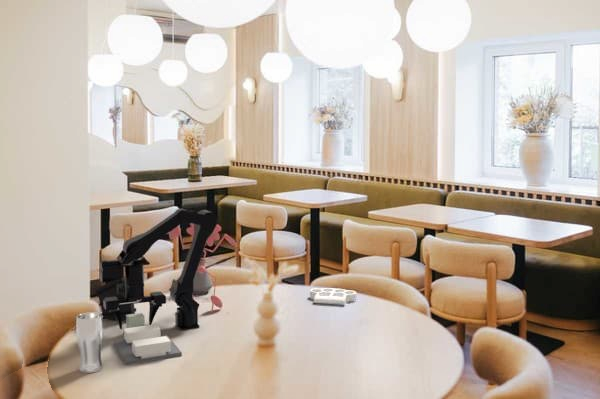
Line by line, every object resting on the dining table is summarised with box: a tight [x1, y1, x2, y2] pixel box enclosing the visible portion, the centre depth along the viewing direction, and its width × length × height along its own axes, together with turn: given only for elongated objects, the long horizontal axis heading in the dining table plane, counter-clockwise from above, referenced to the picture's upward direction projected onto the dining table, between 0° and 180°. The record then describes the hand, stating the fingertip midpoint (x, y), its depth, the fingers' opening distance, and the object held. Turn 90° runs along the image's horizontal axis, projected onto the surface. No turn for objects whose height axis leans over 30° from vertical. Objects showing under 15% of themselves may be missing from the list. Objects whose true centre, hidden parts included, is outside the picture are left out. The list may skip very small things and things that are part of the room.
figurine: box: [168, 223, 238, 315], centre depth 227 cm, size 15×26×35 cm, turn 81°
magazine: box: [94, 275, 137, 322], centre depth 214 cm, size 4×13×15 cm, turn 82°
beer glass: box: [75, 311, 104, 374], centre depth 170 cm, size 7×7×15 cm
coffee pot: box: [193, 254, 238, 295], centre depth 249 cm, size 21×12×15 cm, turn 89°
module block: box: [125, 312, 146, 328], centre depth 199 cm, size 5×4×6 cm
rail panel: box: [113, 324, 183, 366], centre depth 185 cm, size 16×18×5 cm
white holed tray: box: [309, 287, 357, 306], centre depth 239 cm, size 3×18×15 cm
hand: (135, 326), depth 199 cm, fingers open, 9 cm apart
